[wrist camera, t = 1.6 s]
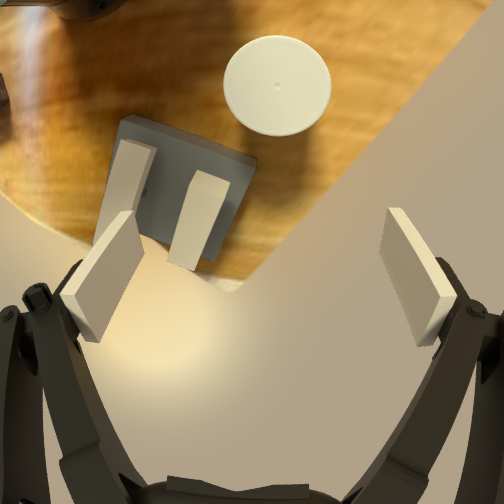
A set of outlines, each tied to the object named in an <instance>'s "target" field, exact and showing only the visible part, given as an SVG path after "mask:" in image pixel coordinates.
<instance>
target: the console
mask: <svg viewBox="0 0 504 504" xmlns="http://www.w3.org/2000/svg"><path fill="white" fill-rule="evenodd" d="M121 139H132V140H135V141H138V142H141V143H144V144H147V145H149V146H152V147H155V148H157V150H156V153H155V156H154V159H153V161H152V164H151V167H150V170H149V173H148V176H147V179H146V182H145V185H144V188H143V191H142V194H141V198H140V201H139V204H138V207H137V211H136V214H135V219H136V223H137V227H138V231H139V234H142V235H144V236H147V237H149V238H152V239H155V240H157V241H160V242H162V243H165V244H168V245H170V246H171V244H172V241H173V237H174V234H175V230H176V227H177V223H178V220H179V217H180V213H181V210H182V207H183V203H184V200H185V197H186V194H187V191H188V187H189V185H190V183H191V181H192V179H193V177H194V175H195V173H196V171H197V170H200V171H202V172H205V173H207V174H210V175H213V176H215V177H218V178H220V179H223V180H225V181H228V182H230V185H229V188H228V190H227V193H226V196H225V199H224V201H223V203H222V206H221V208H220V210H219V213H218V215H217V217H216V220H215V222H214V224H213V227H212V229H211V231H210V234H209V236H208V239H207V241H206V243H205V246H204V248H203V250H202V253H201V255H200V257H202V258H205V259H207V260H210V261H213V262H214V261H215V259H216V257H217V254H218V252H219V250H220V248H221V245H222V243H223V241H224V239H225V236H226V234H227V232H228V230H229V227H230V225H231V223H232V221H233V218H234V216H235V214H236V212H237V210H238V207H239V205H240V203H241V201H242V199H243V196H244V194H245V192H246V190H247V188H248V186H249V183H250V181H251V179H252V177H253V175H254V173H255V170H256V166H257V159H255V158H253V157H250V156H248V155H245V154H243V153H240V152H238V151H235V150H233V149H230V148H228V147H225V146H223V145H220V144H217V143H215V142H212V141H210V140H207V139H204V138H201V137H199V136H196V135H193V134H191V133H188V132H185V131H182V130H179V129H176V128H174V127H171V126H168V125H165V124H162V123H159V122H156V121H153V120H150V119H147V118H144V117H141V116H137V115H134V114H132V115H129V116H127V117H125V118H123V119H121V121H120V124H119V128H118V132H117V136H116V141H115V145H114V149H113V154H112V158H111V163H110V168H109V173H108V178H107V183H108V179H109V176H110V172H111V169H112V166H113V162H114V159H115V156H116V153H117V150H118V147H119V144H120V141H121ZM107 183H106V186H107ZM105 190H106V189H105Z"/></svg>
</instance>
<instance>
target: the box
mask: <svg viewBox="0 0 504 504" xmlns="http://www.w3.org/2000/svg"><path fill="white" fill-rule="evenodd" d="M8 101H9V96H8V93H7V90H6V87H5V83H4V79H3V75H2V73H0V108H1V107H2V106H3V105H4V104H5V103H6V102H8Z"/></svg>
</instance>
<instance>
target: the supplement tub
mask: <svg viewBox="0 0 504 504" xmlns="http://www.w3.org/2000/svg"><path fill="white" fill-rule="evenodd" d="M223 90H224V96H225V99H226V102H227V105H228V107H229V108H230V110H231V112H232V113H233V115H234V116H235V117H236V118H237V119H238V120H239V121H240V122H241V123H242V124H243V125H245V126H246V127H248V128H249V129H251V130H253V131H255V132H258V133H261V134H264V135H269V136H289V135H293V134H296V133H299V132H302V131H304V130H306V129H307V128H309V127H311V126H312V125H313V124H314V123H315V122H317V121H318V120H319V118H320V117H321V116H322V115H323V113H324V112H325V110H326V108H327V106H328V103H329V100H330V96H331V78H330V74H329V71H328V68H327V66H326V64H325V62H324V61H323V59H322V58H321V57H320V55H319V54H318V53H317V52H316V51H315V50H314V49H312V48H311V47H310V46H308V45H307V44H305V43H304V42H302V41H300V40H297V39H295V38H291V37H287V36H278V35H273V36H265V37H261V38H257V39H255V40H252V41H250V42H249V43H247V44H245V45H244V46H243V47H241V48H240V49H239V50H238V51H237V52H236V53H235V54H234V55H233V57H232V58H231V60H230V61H229V63H228V65H227V68H226V71H225V75H224V81H223Z"/></svg>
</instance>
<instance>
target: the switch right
mask: <svg viewBox="0 0 504 504" xmlns="http://www.w3.org/2000/svg"><path fill="white" fill-rule="evenodd" d="M229 185H230V182H228V181H225V180H223V179H220V178H218V177H215V176H213V175H210V174H207V173H205V172H202V171H200V170H197V171H196V173H195V175H194V177H193V179H192V181H191V183H190V185H189V187H188V191H187V194H186V197H185V200H184V203H183V207H182V210H181V213H180V217H179V220H178V223H177V227H176V230H175V234H174V237H173V241H172V244H171V248H170V251H169V255H168V259H167V261H169V262H171V263H173V264H176V265H179V266H181V267H184V268H187V269H189V270H192V271H194V270H195V268H196V265H197V263H198V260H199V258H200V255H201V253H202V250H203V248H204V246H205V243H206V241H207V239H208V236H209V234H210V231H211V229H212V227H213V224H214V222H215V220H216V217H217V215H218V213H219V210H220V208H221V206H222V203H223V201H224V199H225V196H226V193H227V190H228V188H229Z"/></svg>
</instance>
